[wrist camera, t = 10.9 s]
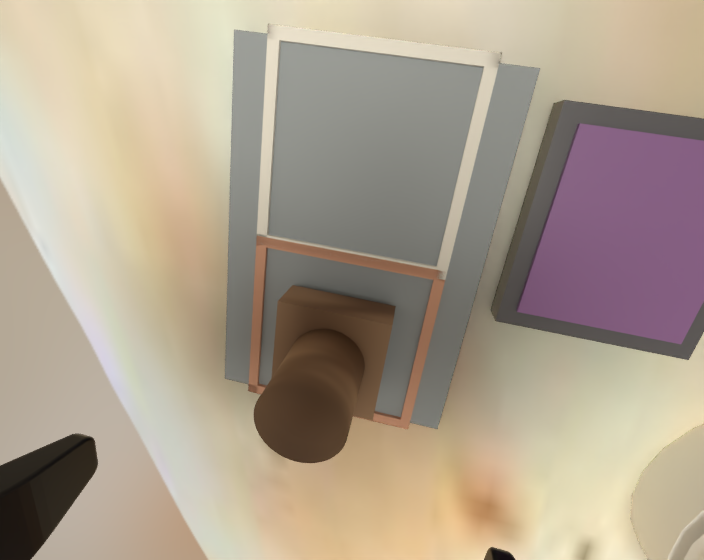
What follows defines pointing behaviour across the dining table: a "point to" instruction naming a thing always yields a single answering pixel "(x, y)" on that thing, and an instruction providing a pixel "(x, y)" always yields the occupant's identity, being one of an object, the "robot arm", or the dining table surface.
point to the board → (367, 193)
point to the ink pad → (612, 231)
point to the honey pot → (672, 501)
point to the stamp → (322, 371)
